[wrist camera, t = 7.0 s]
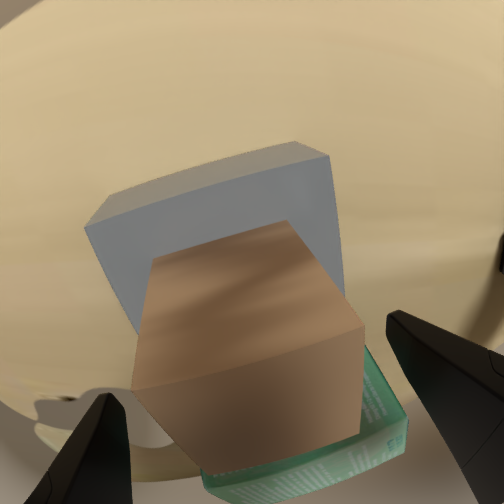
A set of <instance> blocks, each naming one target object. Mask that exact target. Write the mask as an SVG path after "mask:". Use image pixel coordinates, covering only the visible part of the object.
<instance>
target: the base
mask: <svg viewBox="0 0 504 504" xmlns="http://www.w3.org/2000/svg"><path fill="white" fill-rule="evenodd" d="M283 220H287V221H288V222H289V223H290V225H291V226H292V227H293V228H294V230H295V231H296V232H297V234H298V235H299V236H300V238H301V239H302V240H303V242H304V243H305V244H306V246H307V247H308V248H309V250H310V251H311V252H312V254H313V255H314V256H315V258H316V259H317V260H318V262H319V263H320V264H321V266H322V267H323V268H324V270H325V271H326V272H327V274H328V275H329V276H330V278H331V279H332V281H333V282H334V283H335V285H336V286H337V287H338V289H339V290H340V292H341V293H342V294H343V296H344V297H345V289H344V276H343V264H342V253H341V242H340V233H339V224H338V215H337V207H336V199H335V192H334V184H333V177H332V171H331V164H330V158H329V155H327V154H325V153H323V152H320V151H318V150H315V149H313V148H311V147H308V146H306V145H303V144H301V143H298V142H296V141H294V142H289V143H285V144H280V145H276V146H272V147H268V148H263V149H259V150H255V151H251V152H247V153H244V154H240V155H236V156H232V157H228V158H225V159H221V160H218V161H214V162H210V163H207V164H204V165H200V166H197V167H193V168H190V169H187V170H183V171H180V172H177V173H174V174H171V175H168V176H164V177H161V178H158V179H155V180H152V181H149V182H146V183H143V184H140V185H138V186H135V187H132V188H129V189H126V190H123V191H121V192H118V193H115V194H112V195H110V196H109V197H108V198H107V199H106V200H105V202H104V203H103V204H102V205H101V206H100V208H99V209H98V210H97V211H96V213H95V214H94V215H93V216H92V218H91V219H90V220H89V221H88V223H87V224H86V225H85V226H84V229H85V232H86V234H87V236H88V238H89V241H90V243H91V245H92V247H93V249H94V252H95V254H96V256H97V258H98V260H99V262H100V264H101V266H102V268H103V270H104V273H105V275H106V277H107V279H108V281H109V283H110V284H111V286H112V288H113V290H114V292H115V294H116V296H117V298H118V300H119V302H120V304H121V305H122V307H123V309H124V311H125V313H126V315H127V316H128V318H129V320H130V322H131V324H132V325H133V327H134V329H135V331H136V332H137V334H138V336H139V330H140V324H141V318H142V312H143V307H144V301H145V296H146V291H147V286H148V281H149V276H150V271H151V266H152V261H153V258H156V257H160V256H163V255H166V254H170V253H173V252H176V251H180V250H183V249H186V248H190V247H193V246H196V245H200V244H203V243H207V242H210V241H213V240H217V239H220V238H224V237H227V236H231V235H234V234H237V233H241V232H244V231H248V230H251V229H255V228H258V227H262V226H265V225H269V224H272V223H276V222H280V221H283Z"/></svg>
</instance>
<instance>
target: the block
mask: <svg viewBox="0 0 504 504" xmlns="http://www.w3.org/2000/svg"><path fill="white" fill-rule="evenodd" d="M364 344H365V325H364V324H363V322H362V321H361V319H360V318H359V317H358V315H357V314H356V312H355V311H354V310H353V308H352V307H351V305H350V304H349V303H348V301H347V300H346V298H345V297H344V296H343V294H342V293H341V292H340V290H339V289H338V287H337V286H336V285H335V283H334V282H333V281H332V279H331V278H330V276H329V275H328V274H327V272H326V271H325V270H324V268H323V267H322V266H321V264H320V263H319V262H318V260H317V259H316V258H315V256H314V255H313V254H312V252H311V251H310V250H309V248H308V247H307V246H306V244H305V243H304V242H303V240H302V239H301V238H300V236H299V235H298V234H297V232H296V231H295V230H294V228H293V227H292V226H291V225H290V223H289V222H288V221H287V220H283V221H280V222H276V223H272V224H269V225H265V226H262V227H258V228H255V229H251V230H248V231H244V232H241V233H237V234H234V235H231V236H227V237H224V238H220V239H217V240H213V241H210V242H207V243H203V244H200V245H196V246H193V247H190V248H186V249H183V250H180V251H176V252H173V253H170V254H166V255H163V256H160V257H156V258H153V261H152V266H151V271H150V276H149V281H148V286H147V291H146V296H145V301H144V307H143V312H142V318H141V324H140V330H139V336H138V343H137V349H136V356H135V363H134V371H133V379H132V387H131V391H132V393H134V395H135V396H136V398H137V399H138V400H139V401H140V403H141V404H142V405H143V406H144V407H145V409H146V410H147V411H148V412H149V413H150V415H151V416H152V417H153V418H154V419H155V420H156V422H157V423H158V424H159V425H160V426H161V427H162V428H163V430H164V431H165V432H166V433H167V434H168V435H169V436H170V437H171V438H172V439H173V441H174V442H175V443H176V444H177V445H178V446H179V447H180V448H181V449H182V450H183V451H184V452H185V453H186V454H187V455H188V456H189V457H190V458H191V459H192V460H193V461H194V462H195V463H196V464H197V465H198V466H199V467H200V468H201V469H202V470H203V471H204V472H205V473H206V474H207V475H208V476H209V475H215V474H221V473H226V472H231V471H236V470H241V469H246V468H250V467H255V466H259V465H263V464H267V463H271V462H275V461H278V460H282V459H286V458H289V457H293V456H296V455H299V454H303V453H306V452H309V451H312V450H315V449H318V448H321V447H324V446H327V445H330V444H333V443H335V442H338V441H341V440H343V439H346V438H349V437H351V436H354V435H356V434H359V430H360V419H361V407H362V393H363V374H364Z"/></svg>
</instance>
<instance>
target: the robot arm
mask: <svg viewBox="0 0 504 504" xmlns="http://www.w3.org/2000/svg"><path fill="white" fill-rule="evenodd" d="M500 272H501V273H502V274H504V250H503V255H502V260H501V265H500ZM386 337H387V339H388V341H389V343H390V345H391V348H392V350H393V352H394V354H395V356H396V358H397V360H398V362H399V364H400V366H401V368H402V370H403V372H404V374H405V376H406V378H407V379H408V381H409V383H410V384H411V386H412V387H413V389H414V391H415V392H416V394H417V395H418V397H419V398H420V400H421V402H422V404H423V405H424V407H425V408H426V410H427V412H428V413H429V415H430V417H431V418H432V420H433V422H434V423H435V425H436V427H437V428H438V430H439V432H440V434H441V435H442V437H443V439H444V440H445V442H446V444H447V446H448V447H449V449H450V451H451V453H452V454H453V456H454V458H455V460H456V462H457V463H458V465H459V467H460V469H461V471H462V473H463V474H464V476H465V478H466V480H467V482H468V484H469V486H470V488H471V490H472V492H473V493H474V495H475V497H476V499H477V501H478V503H479V504H502V503H503V502H504V356H503V355H501V354H498V353H496V352H494V351H492V350H488V349H487V348H485V347H482V346H480V345H478V344H476V343H473V342H471V341H469V340H467V339H465V338H462V337H460V336H458V335H456V334H453V333H451V332H449V331H447V330H444V329H442V328H440V327H438V326H435V325H433V324H431V323H428V322H426V321H424V320H422V319H419V318H417V317H415V316H413V315H410V314H408V313H406V312H404V311H401V310H396V311H393V312H391V313H389V314H388V315H387V320H386ZM24 504H133V501H132V486H131V465H130V448H129V440H128V432H127V424H126V414H125V410H124V407H123V406H122V405H121V403H120V402H119V401H118V400H117V399H116V398H115V396H114V395H113V394H112V393H102V394H99V395H98V397H97V398H96V399H95V401H94V402H93V404H92V405H91V406H90V408H89V409H88V411H87V412H86V414H85V415H84V417H83V418H82V420H81V421H80V422H79V424H78V425H77V427H76V428H75V430H74V431H73V433H72V434H71V436H70V437H69V438H68V440H67V441H66V443H65V444H64V446H63V447H62V449H61V450H60V452H59V453H58V455H57V456H56V458H55V460H54V461H53V462H52V464H51V466H50V467H49V469H48V471H47V472H46V473H45V475H44V476H43V478H42V479H41V481H40V482H39V484H38V485H37V487H36V488H35V489H34V491H33V492H32V493H31V495H30V496H29V497H28V499H27V500H26V501H25V503H24Z"/></svg>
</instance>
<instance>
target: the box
mask: <svg viewBox="0 0 504 504" xmlns="http://www.w3.org/2000/svg"><path fill="white" fill-rule="evenodd" d="M408 424H409V419H408V417H407V415H406V414H405V412H404V410H403V408H402V407H401V405H400V403H399V401H398V400H397V398H396V396H395V394H394V393H393V391H392V389H391V387H390V386H389V384H388V382H387V381H386V379H385V377H384V375H383V374H382V372H381V370H380V369H379V367H378V365H377V364H376V362H375V360H374V359H373V357H372V355H371V354H370V352H369V350H368V349H367V347H366V345H365V344H364V374H363V393H362V407H361V419H360V430H359V434H356V435H354V436H351V437H349V438H346V439H343V440H341V441H338V442H335V443H333V444H330V445H327V446H324V447H321V448H318V449H315V450H312V451H309V452H306V453H303V454H299V455H296V456H293V457H289V458H286V459H282V460H278V461H275V462H271V463H267V464H263V465H259V466H255V467H250V468H246V469H241V470H236V471H231V472H226V473H221V474H215V475H209V476H208V475H207V474H206V473H205V472H204V471H203V470H202V469H201V468H200V471H201V476H202V480H203V485H204V488H205V489H206V490H207V492H209V493H211V494H213V495H215V496H216V497H218V498H220V499H223V500H225V501H227V502H229V503H231V504H273V503H277V502H281V501H284V500H287V499H291V498H294V497H298V496H301V495H304V494H307V493H310V492H313V491H316V490H319V489H322V488H325V487H328V486H331V485H333V484H336V483H338V482H341V481H343V480H346V479H348V478H351V477H353V476H355V475H358V474H360V473H362V472H364V471H367V470H369V469H371V468H373V467H375V466H377V465H380V464H382V463H384V462H385V461H388V460H389V459H392V458H394V457H396V456H398V455H400V454H402V453H404V452H405V446H406V438H407V431H408Z"/></svg>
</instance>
